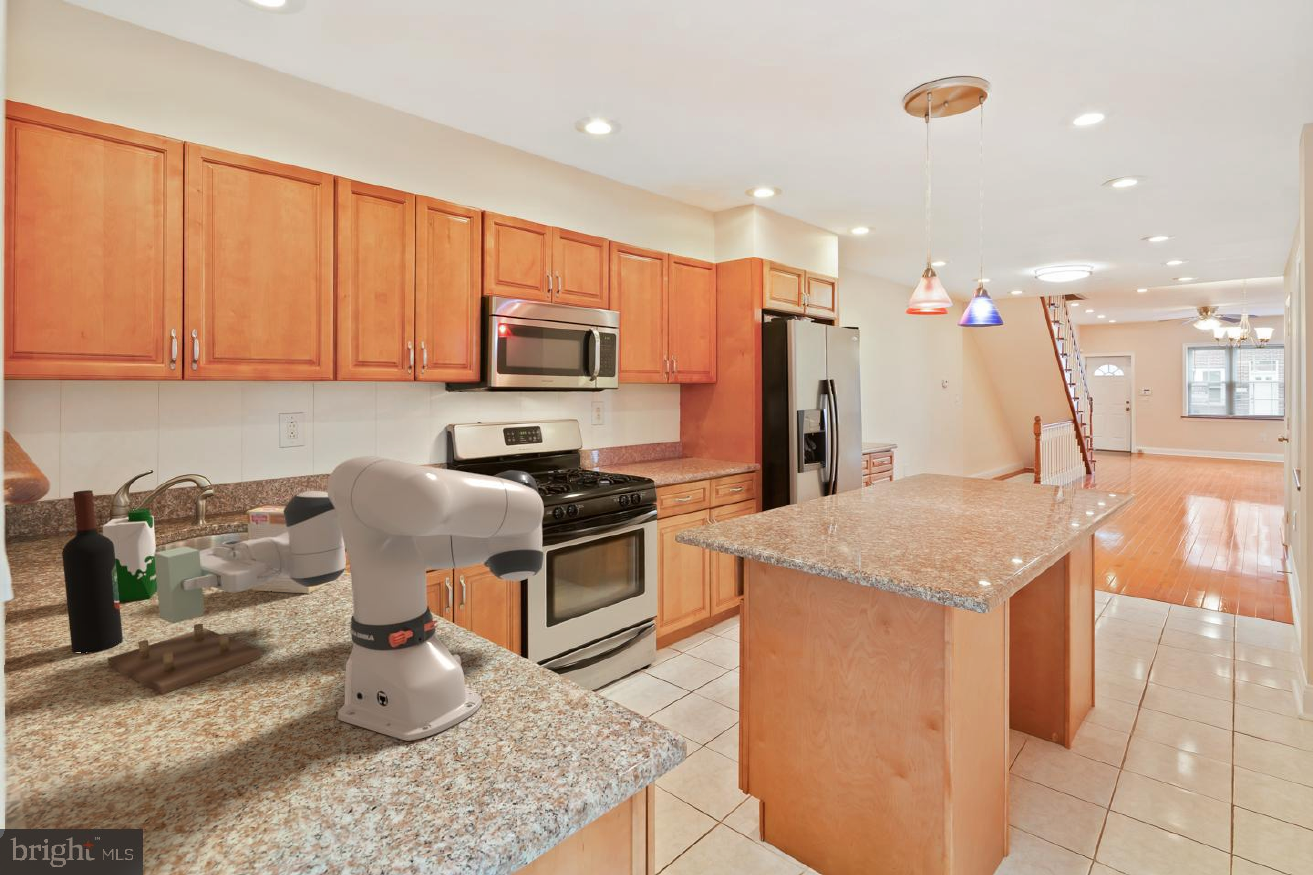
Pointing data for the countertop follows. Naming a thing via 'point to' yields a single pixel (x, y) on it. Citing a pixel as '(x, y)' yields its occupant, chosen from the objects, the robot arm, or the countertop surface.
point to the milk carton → (134, 554)
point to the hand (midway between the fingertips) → (173, 582)
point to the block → (178, 584)
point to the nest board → (183, 659)
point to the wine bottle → (91, 583)
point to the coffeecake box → (272, 525)
